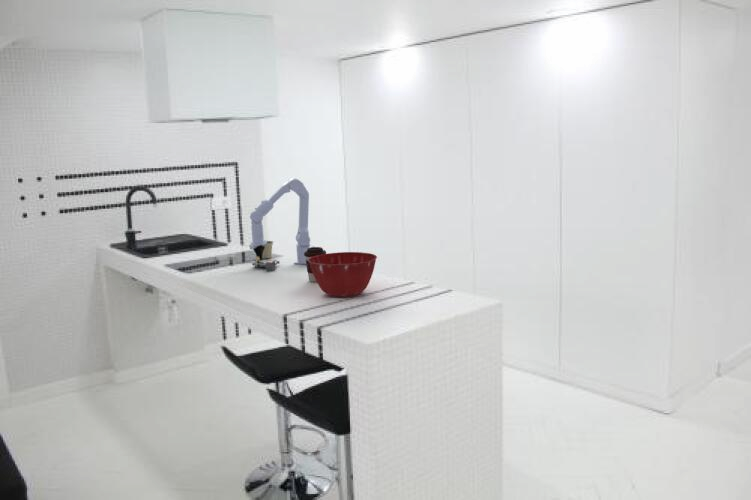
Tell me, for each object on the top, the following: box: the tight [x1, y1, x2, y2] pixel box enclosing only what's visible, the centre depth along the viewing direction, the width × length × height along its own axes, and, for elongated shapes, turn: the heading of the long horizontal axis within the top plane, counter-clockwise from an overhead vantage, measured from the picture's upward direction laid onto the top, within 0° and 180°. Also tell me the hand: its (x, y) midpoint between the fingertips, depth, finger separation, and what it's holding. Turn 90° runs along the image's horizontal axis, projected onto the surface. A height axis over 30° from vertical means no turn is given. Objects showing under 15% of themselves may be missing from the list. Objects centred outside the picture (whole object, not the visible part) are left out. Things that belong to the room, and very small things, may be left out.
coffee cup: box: [304, 246, 327, 283], centre depth 304 cm, size 10×10×15 cm
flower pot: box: [262, 240, 274, 260], centre depth 366 cm, size 9×9×9 cm
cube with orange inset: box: [265, 261, 277, 272], centre depth 333 cm, size 4×4×4 cm
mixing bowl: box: [308, 251, 378, 298], centre depth 277 cm, size 28×28×16 cm
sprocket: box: [251, 255, 280, 268], centre depth 342 cm, size 14×14×4 cm
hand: (259, 260), depth 343 cm, fingers closed, pressing on sprocket
